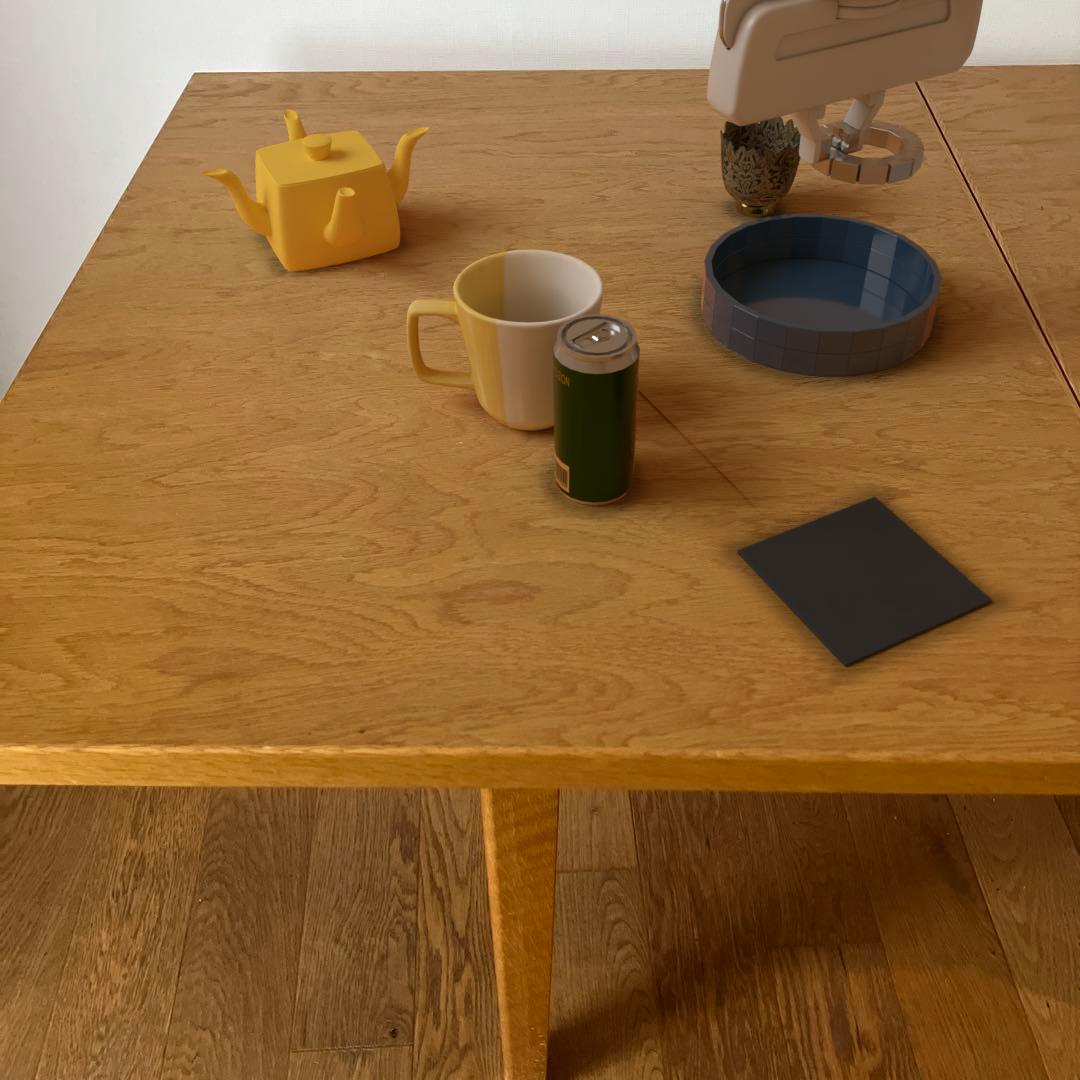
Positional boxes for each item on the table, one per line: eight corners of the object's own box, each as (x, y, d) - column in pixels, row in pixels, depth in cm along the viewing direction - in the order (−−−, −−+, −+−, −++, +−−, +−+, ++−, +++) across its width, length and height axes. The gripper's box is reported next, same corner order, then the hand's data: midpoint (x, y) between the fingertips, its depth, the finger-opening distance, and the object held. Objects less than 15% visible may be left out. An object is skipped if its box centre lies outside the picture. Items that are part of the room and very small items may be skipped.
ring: (872, 129, 92) (875, 111, 91) (943, 169, 87) (947, 150, 86) (786, 151, 89) (788, 133, 88) (853, 194, 84) (856, 175, 83)
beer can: (585, 521, 79) (587, 370, 71) (539, 479, 82) (535, 330, 74) (649, 491, 81) (658, 340, 73) (601, 451, 84) (605, 303, 76)
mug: (614, 380, 91) (618, 256, 84) (582, 462, 84) (583, 334, 77) (444, 355, 94) (433, 234, 87) (398, 432, 86) (383, 306, 79)
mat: (873, 503, 80) (874, 496, 79) (990, 607, 73) (992, 600, 72) (736, 556, 76) (737, 549, 76) (844, 671, 69) (846, 664, 69)
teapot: (219, 267, 104) (196, 161, 98) (297, 196, 114) (281, 95, 108) (370, 295, 101) (357, 187, 94) (437, 219, 110) (429, 116, 104)
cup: (729, 189, 114) (737, 106, 108) (804, 204, 111) (816, 120, 106) (701, 223, 109) (708, 138, 103) (780, 240, 106) (791, 154, 101)
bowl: (834, 242, 106) (842, 195, 103) (978, 342, 94) (992, 292, 91) (658, 294, 100) (661, 246, 97) (788, 408, 88) (796, 356, 85)
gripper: (753, -9, 71) (734, 206, 81) (1014, -64, 78) (969, 140, 87) (695, -37, 76) (683, 170, 85) (948, -88, 82) (911, 110, 91)
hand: (830, 155), depth 86 cm, fingers closed on ring, 1 cm apart
